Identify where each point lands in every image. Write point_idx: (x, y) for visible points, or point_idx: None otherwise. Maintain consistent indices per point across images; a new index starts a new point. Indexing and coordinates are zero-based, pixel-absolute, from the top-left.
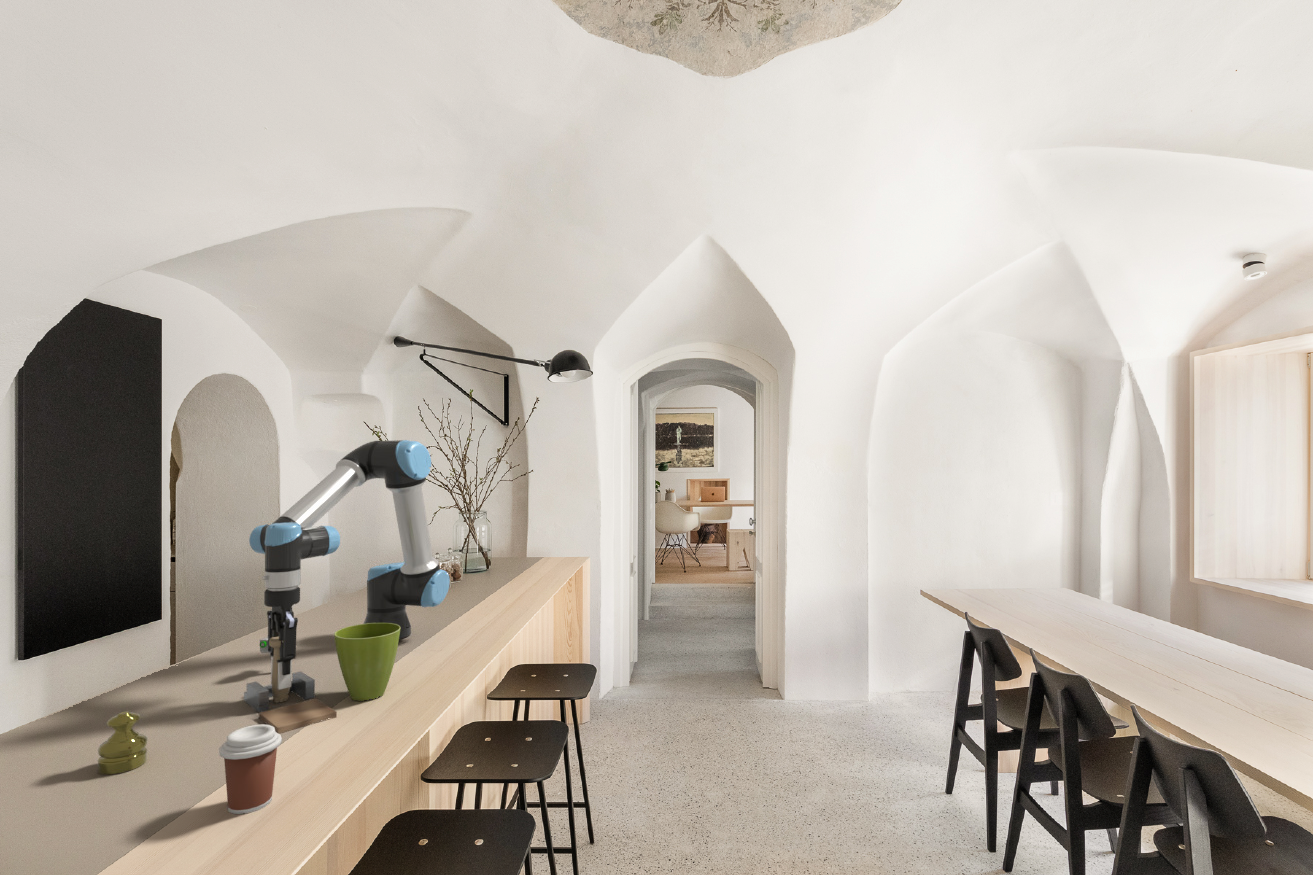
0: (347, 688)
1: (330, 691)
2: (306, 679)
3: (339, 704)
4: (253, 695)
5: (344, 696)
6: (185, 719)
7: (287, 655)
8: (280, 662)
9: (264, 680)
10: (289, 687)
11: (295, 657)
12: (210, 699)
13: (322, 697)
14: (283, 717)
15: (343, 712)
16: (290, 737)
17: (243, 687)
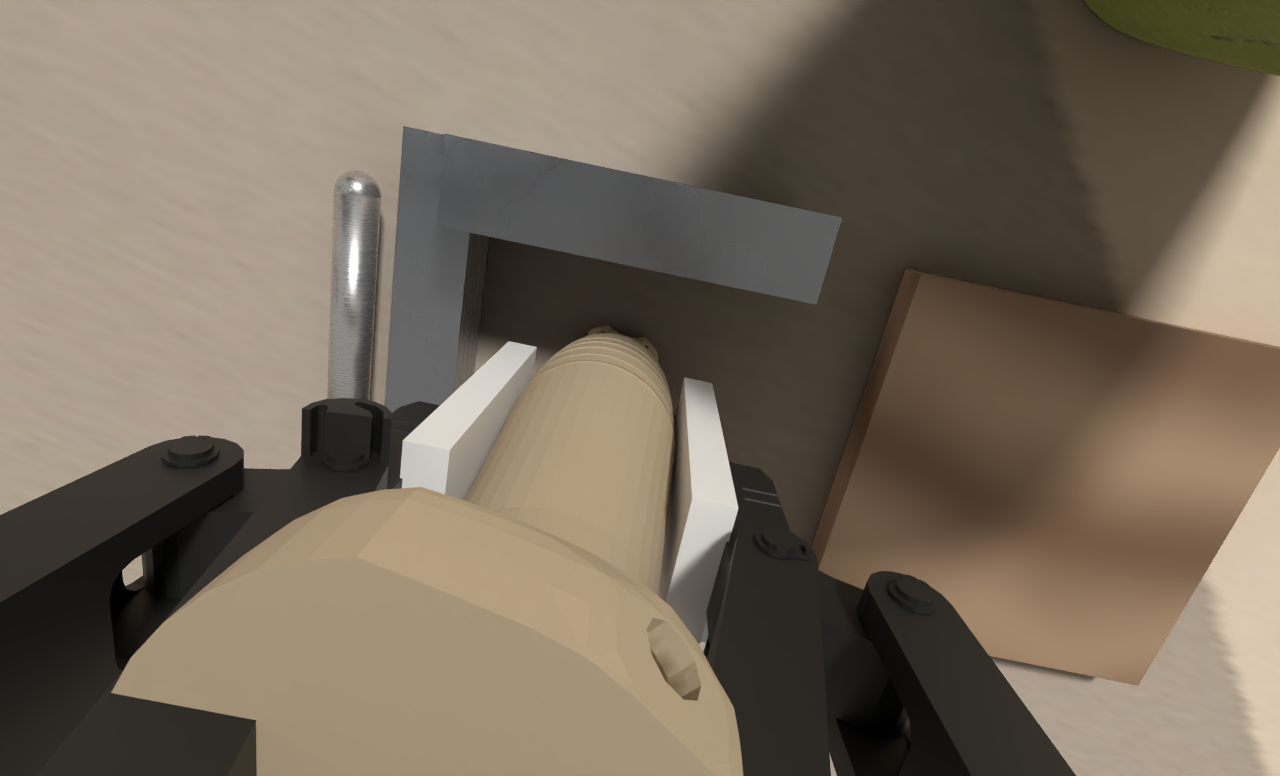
0: (1181, 51)
1: (773, 23)
2: (756, 260)
3: (1111, 178)
4: None
5: (1002, 30)
6: None
7: (904, 724)
8: (700, 621)
9: (44, 188)
10: (647, 353)
11: (943, 596)
12: None
13: (839, 158)
14: (1022, 590)
15: (1275, 266)
16: (1229, 654)
17: (116, 362)
